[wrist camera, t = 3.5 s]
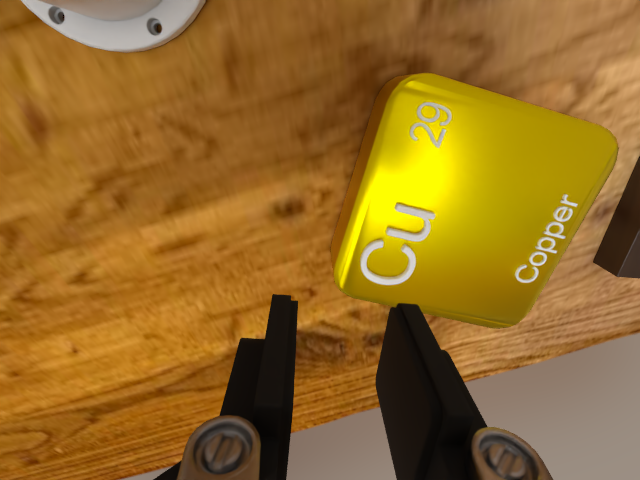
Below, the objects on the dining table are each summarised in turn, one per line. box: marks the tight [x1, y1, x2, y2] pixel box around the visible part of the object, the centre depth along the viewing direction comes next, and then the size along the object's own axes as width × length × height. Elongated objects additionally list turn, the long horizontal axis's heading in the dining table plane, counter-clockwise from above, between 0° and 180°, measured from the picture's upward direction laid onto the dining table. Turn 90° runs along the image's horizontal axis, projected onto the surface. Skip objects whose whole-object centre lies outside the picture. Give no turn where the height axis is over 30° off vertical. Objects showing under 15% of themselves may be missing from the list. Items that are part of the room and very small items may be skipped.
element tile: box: [330, 73, 619, 329], centre depth 25 cm, size 15×15×5 cm
